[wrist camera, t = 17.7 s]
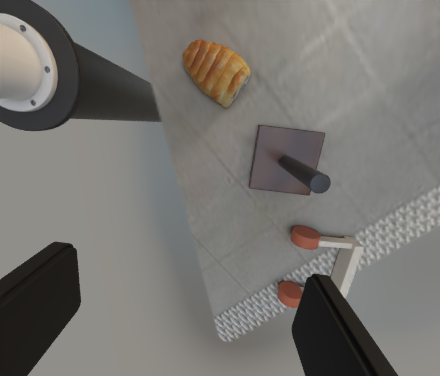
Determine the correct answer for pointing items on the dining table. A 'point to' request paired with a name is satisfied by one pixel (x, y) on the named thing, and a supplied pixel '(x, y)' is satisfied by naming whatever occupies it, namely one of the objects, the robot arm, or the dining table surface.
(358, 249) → the over-ear headset
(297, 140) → the headphone stand
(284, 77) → the dining table surface
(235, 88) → the pastry
